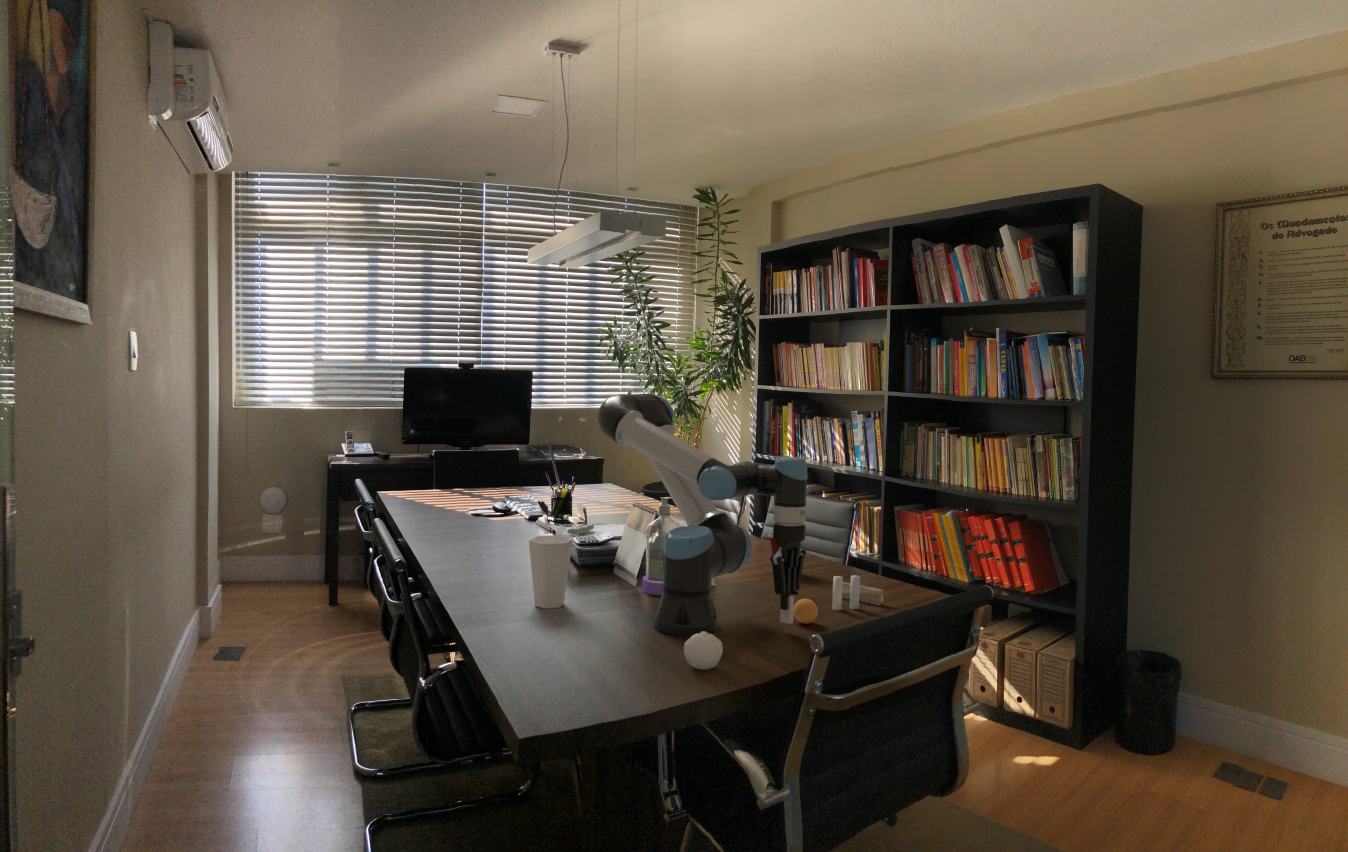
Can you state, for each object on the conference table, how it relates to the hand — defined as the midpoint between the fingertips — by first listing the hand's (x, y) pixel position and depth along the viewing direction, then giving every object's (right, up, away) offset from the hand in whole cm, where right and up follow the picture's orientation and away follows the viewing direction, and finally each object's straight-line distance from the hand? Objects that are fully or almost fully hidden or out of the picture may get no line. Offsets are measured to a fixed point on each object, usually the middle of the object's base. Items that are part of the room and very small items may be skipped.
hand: (786, 622), depth 190 cm
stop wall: (+24, -1, +31) cm, 39 cm away
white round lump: (-21, -4, -25) cm, 33 cm away
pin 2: (+21, -2, +22) cm, 31 cm away
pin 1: (+16, -2, +21) cm, 27 cm away
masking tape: (-30, 0, +35) cm, 46 cm away
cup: (-59, 0, +17) cm, 61 cm away
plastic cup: (+8, 0, +60) cm, 61 cm away
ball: (+6, +1, +8) cm, 10 cm away
